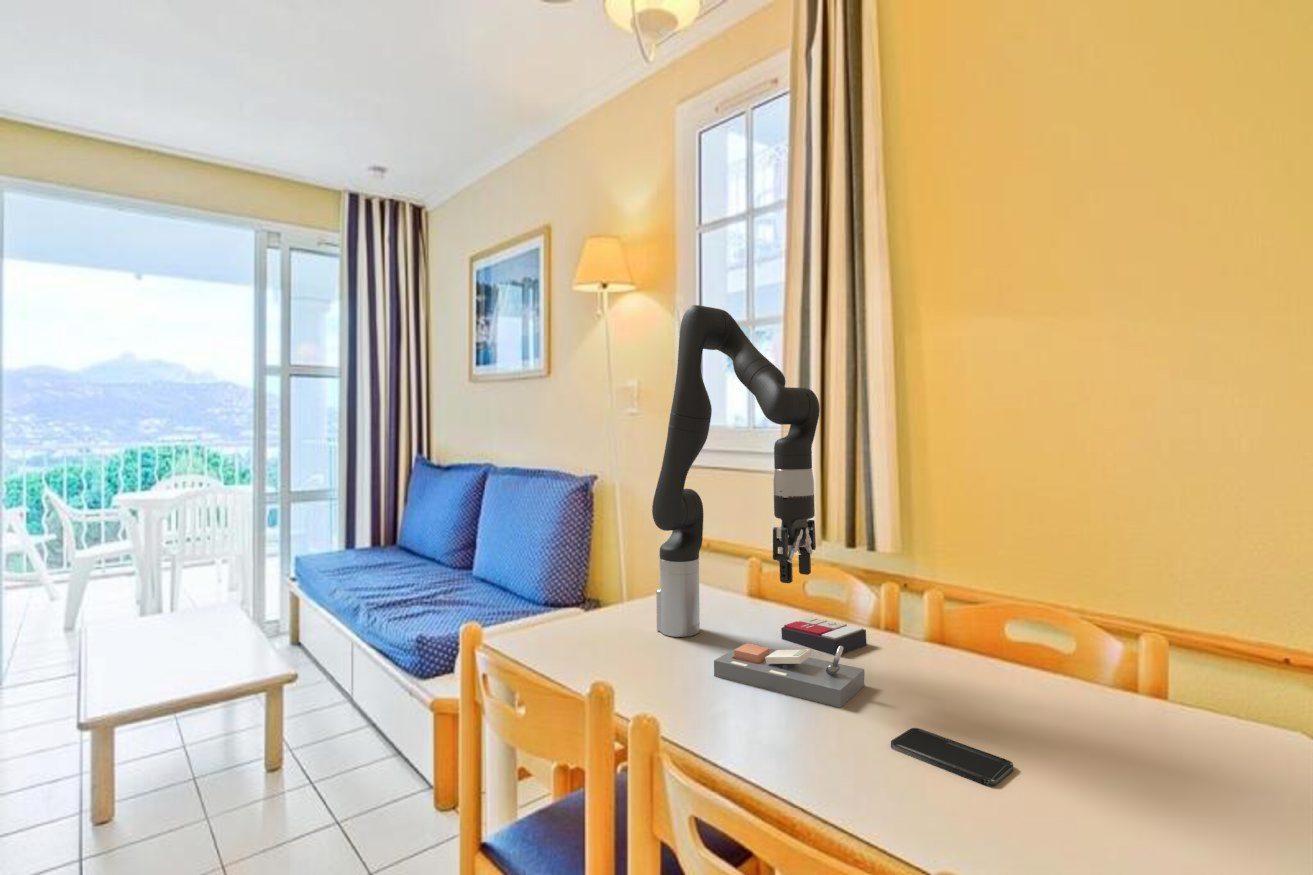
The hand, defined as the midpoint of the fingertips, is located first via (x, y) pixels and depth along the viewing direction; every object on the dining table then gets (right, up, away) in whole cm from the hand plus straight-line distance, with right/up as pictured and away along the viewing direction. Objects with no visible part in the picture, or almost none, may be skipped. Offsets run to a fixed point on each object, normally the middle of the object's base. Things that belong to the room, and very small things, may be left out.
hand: (795, 578), depth 125 cm
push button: (-8, -17, +4) cm, 19 cm away
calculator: (+11, -19, +21) cm, 31 cm away
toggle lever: (+5, -16, -6) cm, 18 cm away
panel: (-1, -19, -1) cm, 19 cm away
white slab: (-2, -15, -1) cm, 15 cm away
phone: (+16, -20, -30) cm, 39 cm away
